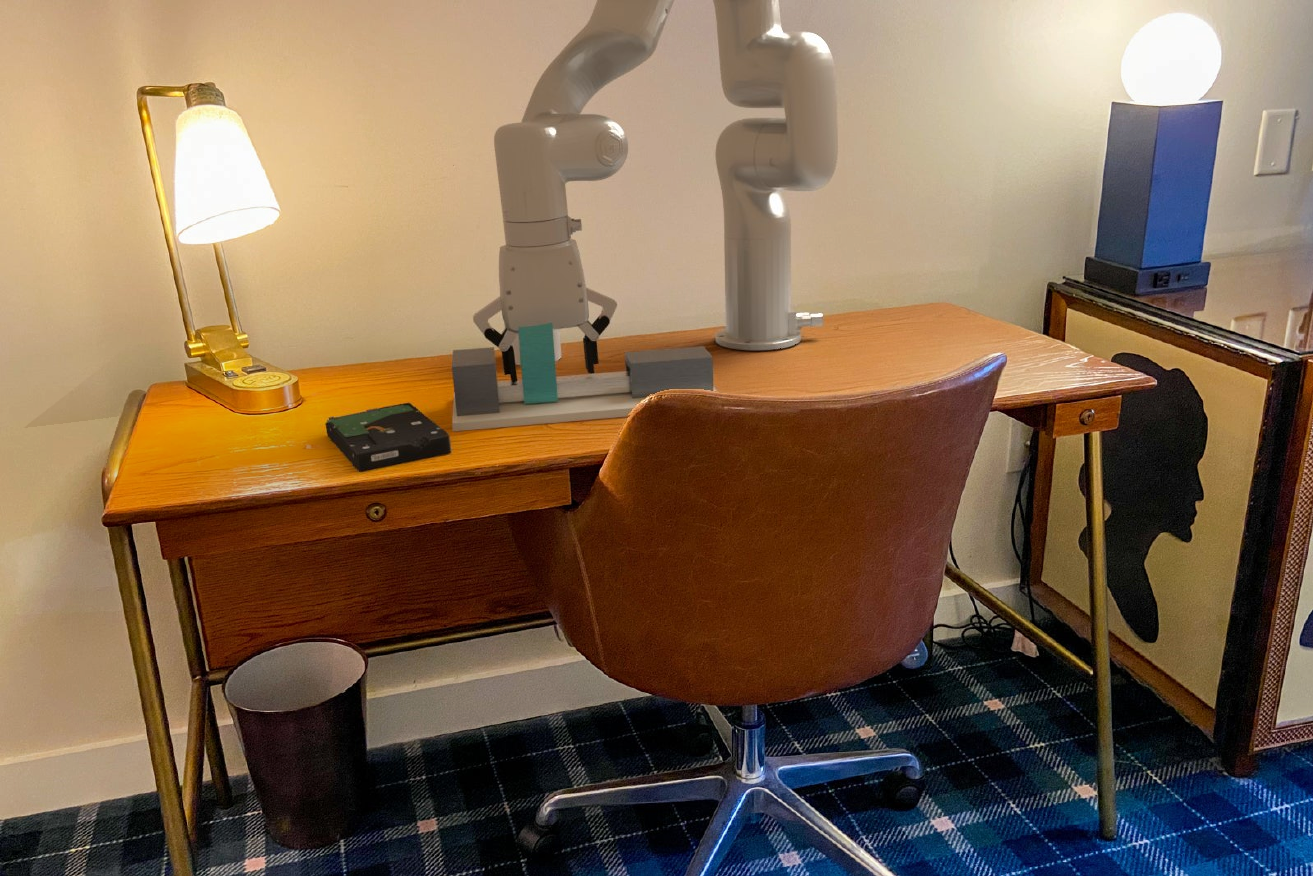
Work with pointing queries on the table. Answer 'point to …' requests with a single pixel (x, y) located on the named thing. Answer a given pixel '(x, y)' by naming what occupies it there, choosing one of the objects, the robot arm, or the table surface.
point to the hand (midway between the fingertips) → (552, 374)
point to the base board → (550, 411)
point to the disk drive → (387, 437)
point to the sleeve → (669, 370)
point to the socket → (475, 381)
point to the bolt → (553, 373)
